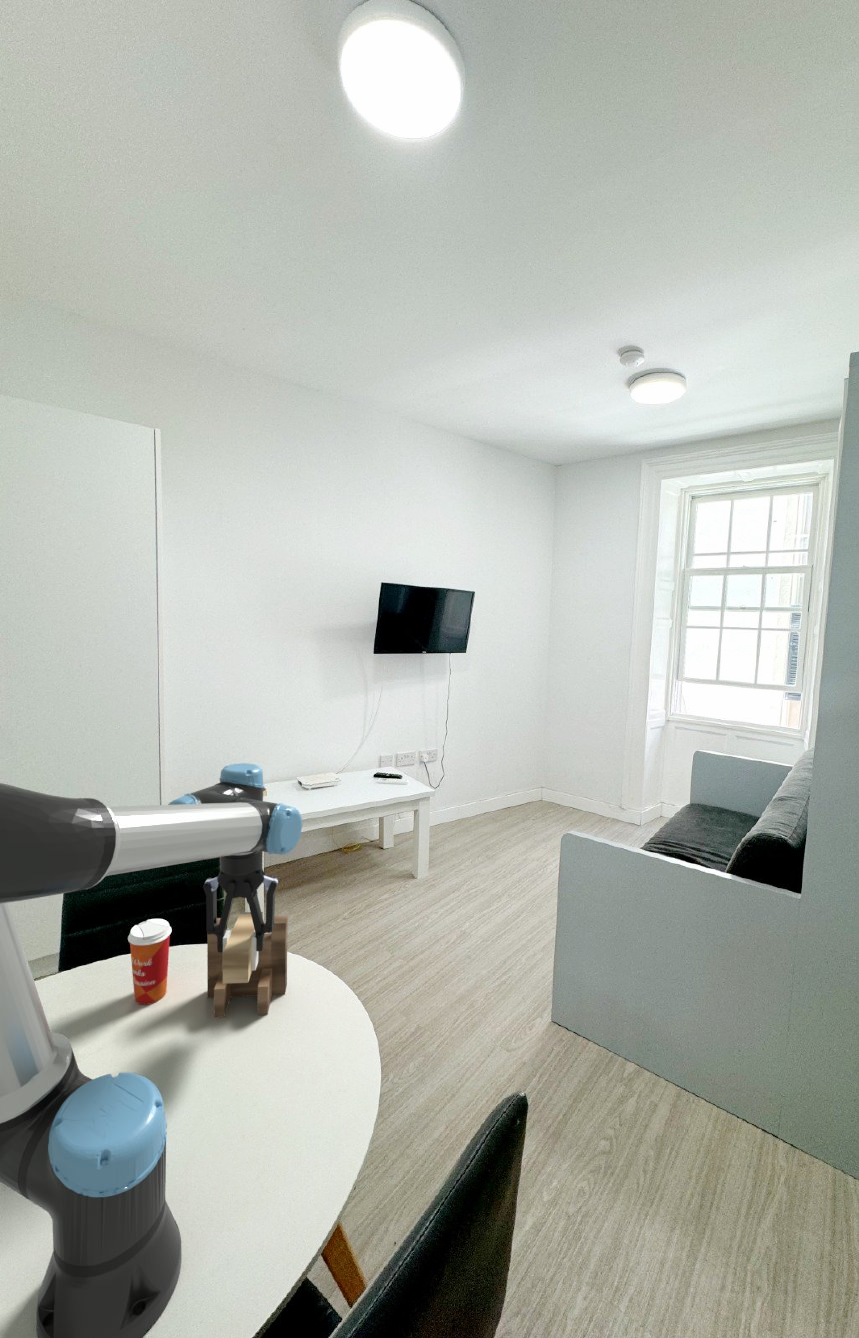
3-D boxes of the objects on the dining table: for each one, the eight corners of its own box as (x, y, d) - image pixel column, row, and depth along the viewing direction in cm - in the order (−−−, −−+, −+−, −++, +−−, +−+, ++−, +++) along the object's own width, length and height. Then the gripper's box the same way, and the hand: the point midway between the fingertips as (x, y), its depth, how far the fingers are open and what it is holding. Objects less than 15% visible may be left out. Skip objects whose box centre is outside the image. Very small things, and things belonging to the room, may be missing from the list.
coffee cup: (121, 997, 118) (119, 929, 117) (158, 977, 125) (158, 913, 124) (142, 1014, 114) (141, 943, 112) (180, 992, 120) (179, 925, 119)
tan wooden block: (248, 982, 103) (248, 951, 102) (222, 983, 102) (222, 952, 102) (262, 939, 116) (262, 911, 116) (239, 940, 116) (240, 912, 115)
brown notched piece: (281, 1013, 115) (282, 938, 114) (199, 1018, 113) (199, 942, 112) (286, 984, 124) (287, 915, 123) (211, 988, 122) (211, 918, 120)
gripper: (292, 839, 109) (290, 953, 111) (198, 839, 108) (198, 956, 110) (286, 855, 102) (285, 977, 104) (186, 856, 100) (186, 980, 102)
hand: (240, 966), depth 107 cm, fingers closed on tan wooden block, 4 cm apart
